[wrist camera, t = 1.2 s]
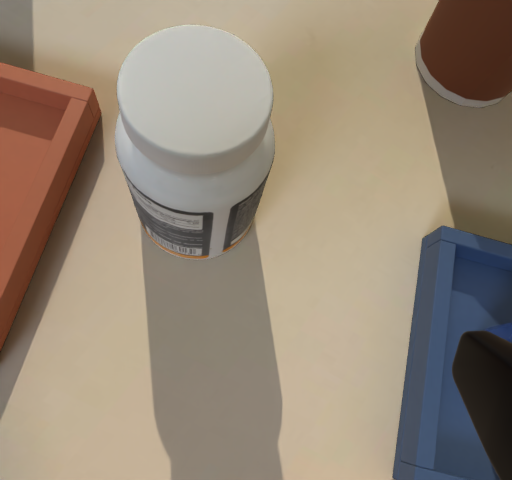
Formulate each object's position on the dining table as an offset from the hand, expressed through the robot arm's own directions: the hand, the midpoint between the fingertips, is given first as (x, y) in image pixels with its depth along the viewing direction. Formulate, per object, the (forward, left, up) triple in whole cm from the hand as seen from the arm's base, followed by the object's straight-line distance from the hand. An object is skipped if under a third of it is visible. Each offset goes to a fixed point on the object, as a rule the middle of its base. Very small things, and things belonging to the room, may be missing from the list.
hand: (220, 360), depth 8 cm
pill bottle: (+8, +3, -13) cm, 16 cm away
